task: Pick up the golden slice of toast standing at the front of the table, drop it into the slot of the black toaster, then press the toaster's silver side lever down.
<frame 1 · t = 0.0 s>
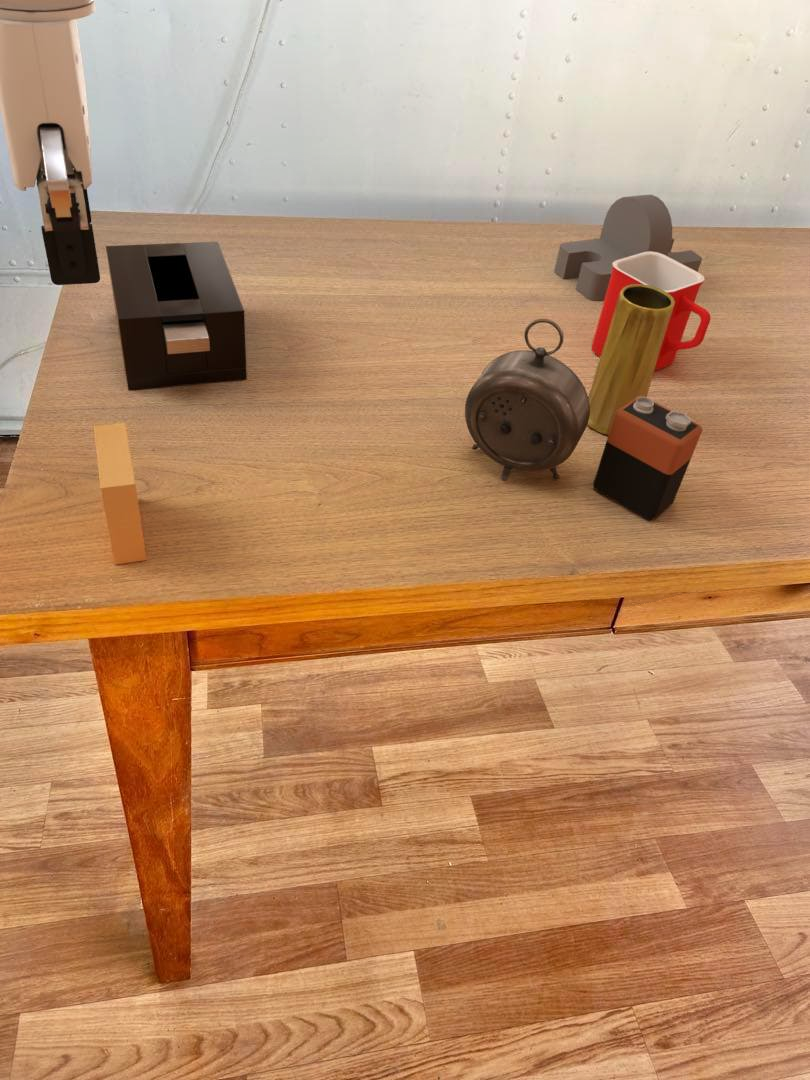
hand: (73, 251, 63), 21 cm above the table, tool pointing down, fingers open, 9 cm apart
vase: (608, 421, 91), on the table
bracket: (623, 278, 118), on the table
battery: (631, 498, 82), on the table
mug: (643, 364, 101), on the table
toaster: (178, 345, 94), on the table
toast: (126, 530, 72), on the table
alarm clock: (511, 472, 83), on the table
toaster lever: (186, 337, 83), point 6 cm above the table, slide at 0.0 cm
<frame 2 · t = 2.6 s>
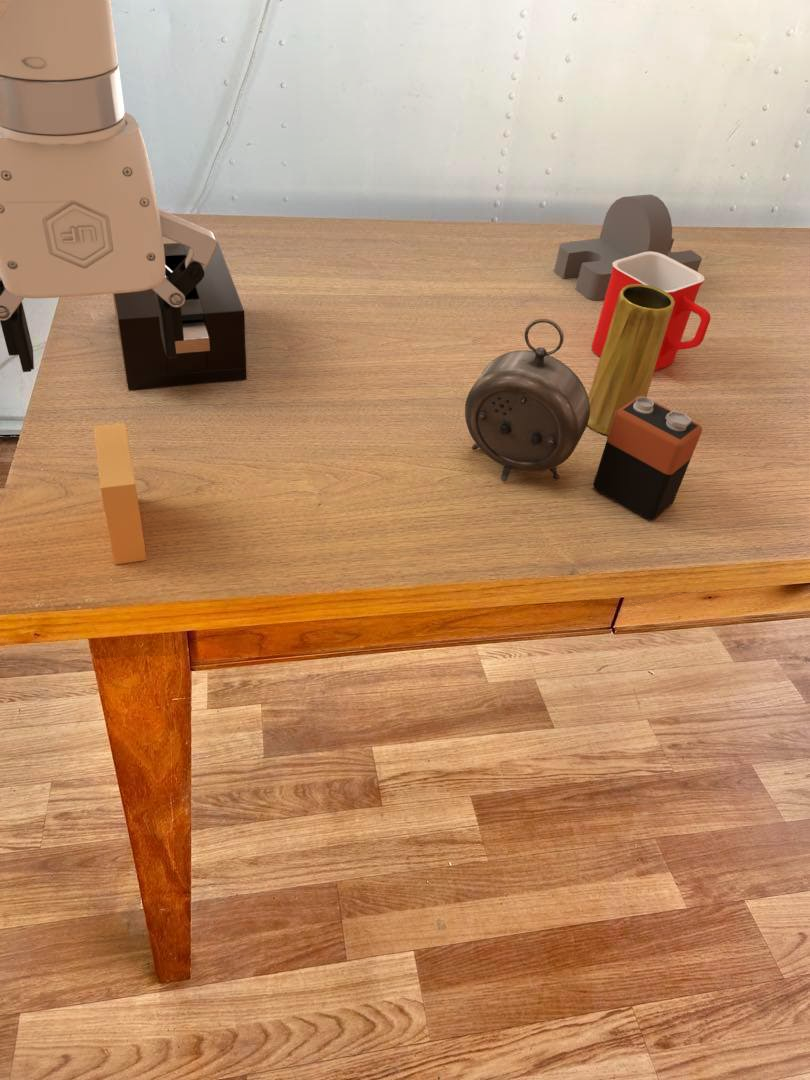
hand: (100, 355, 61), 16 cm above the table, tool pointing down, fingers open, 9 cm apart
nothing on the table moved.
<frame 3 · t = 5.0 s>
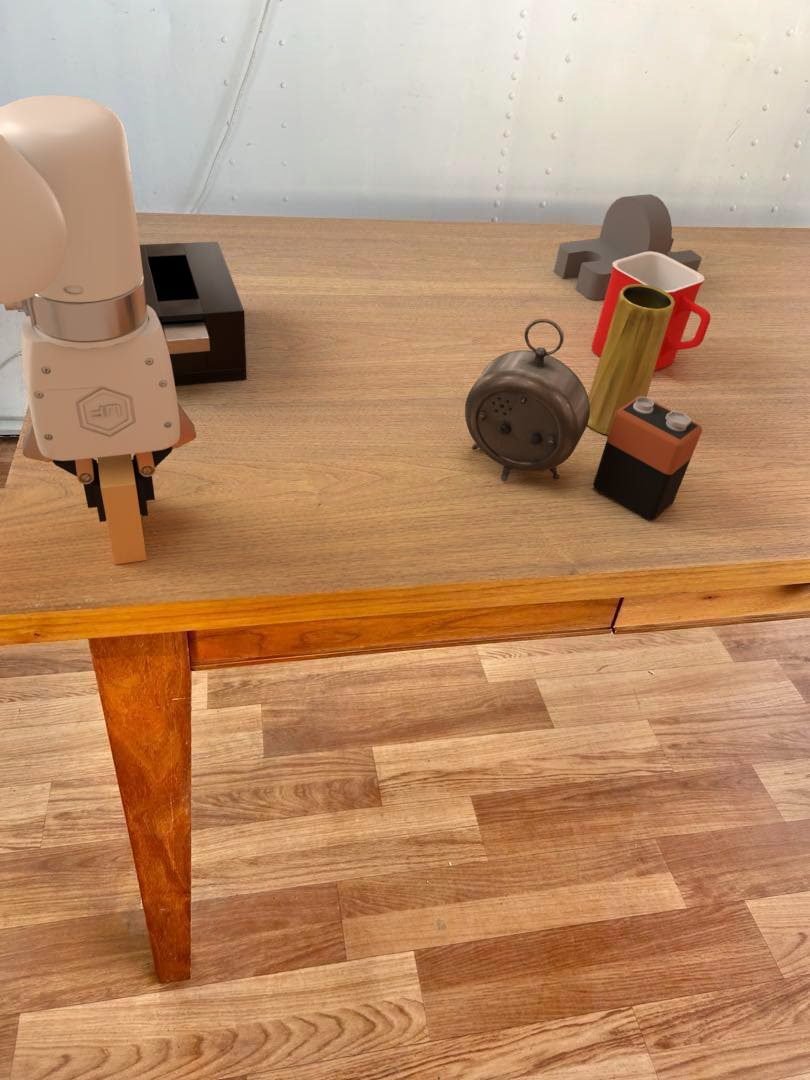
hand: (122, 506, 70), 3 cm above the table, tool pointing down, fingers closed on toast, 2 cm apart
toast: (126, 529, 72), on the table, touching gripper
everything else where it was.
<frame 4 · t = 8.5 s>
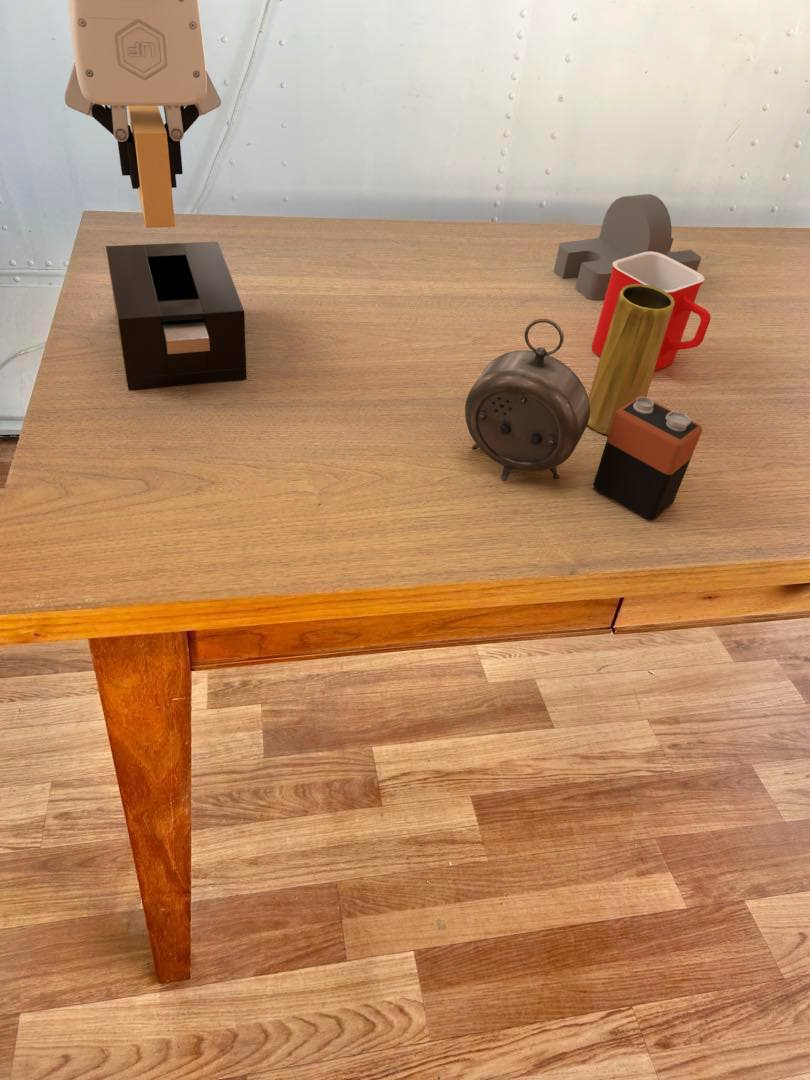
hand: (153, 180, 77), 20 cm above the table, tool pointing down, fingers closed on toast, 2 cm apart
toast: (155, 209, 79), point 17 cm above the table, touching gripper
everything else where it was.
when the fingers open (8 cm above the table, at t = 12.0 s): toast drops 4 cm, resting on toaster.
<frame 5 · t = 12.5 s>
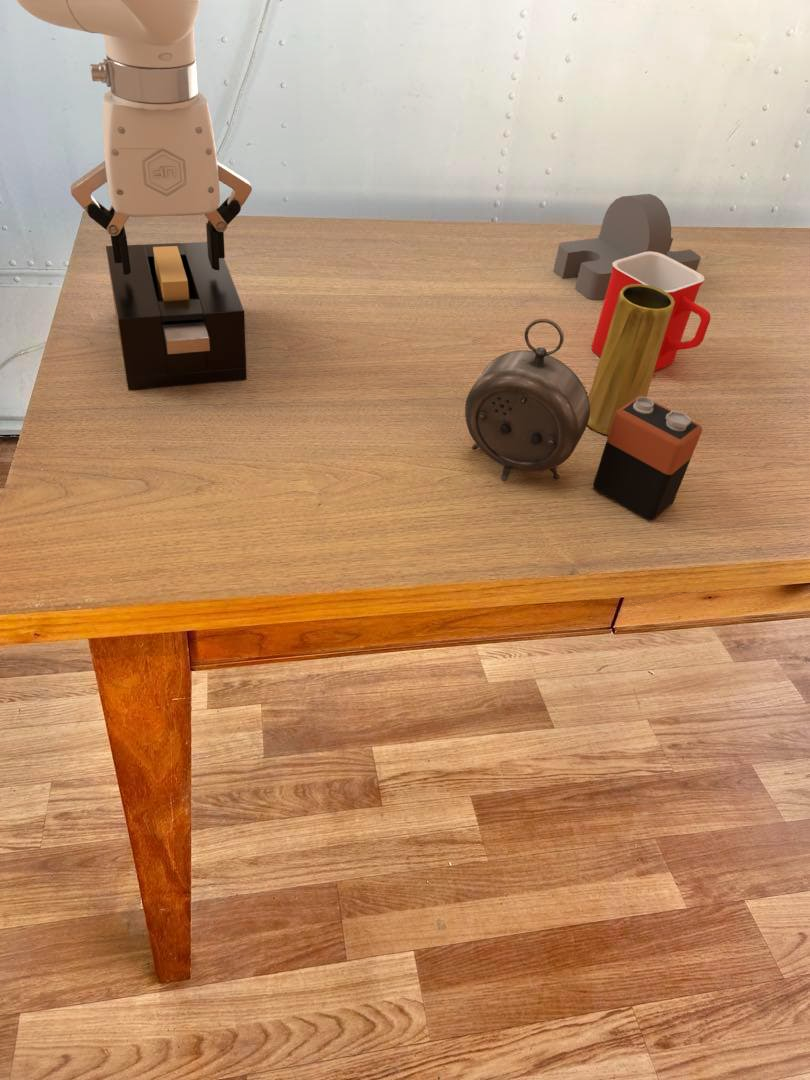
hand: (170, 265, 88), 9 cm above the table, tool pointing down, fingers open, 8 cm apart
toast: (176, 333, 93), point 1 cm above the table, touching toaster
everything else where it was.
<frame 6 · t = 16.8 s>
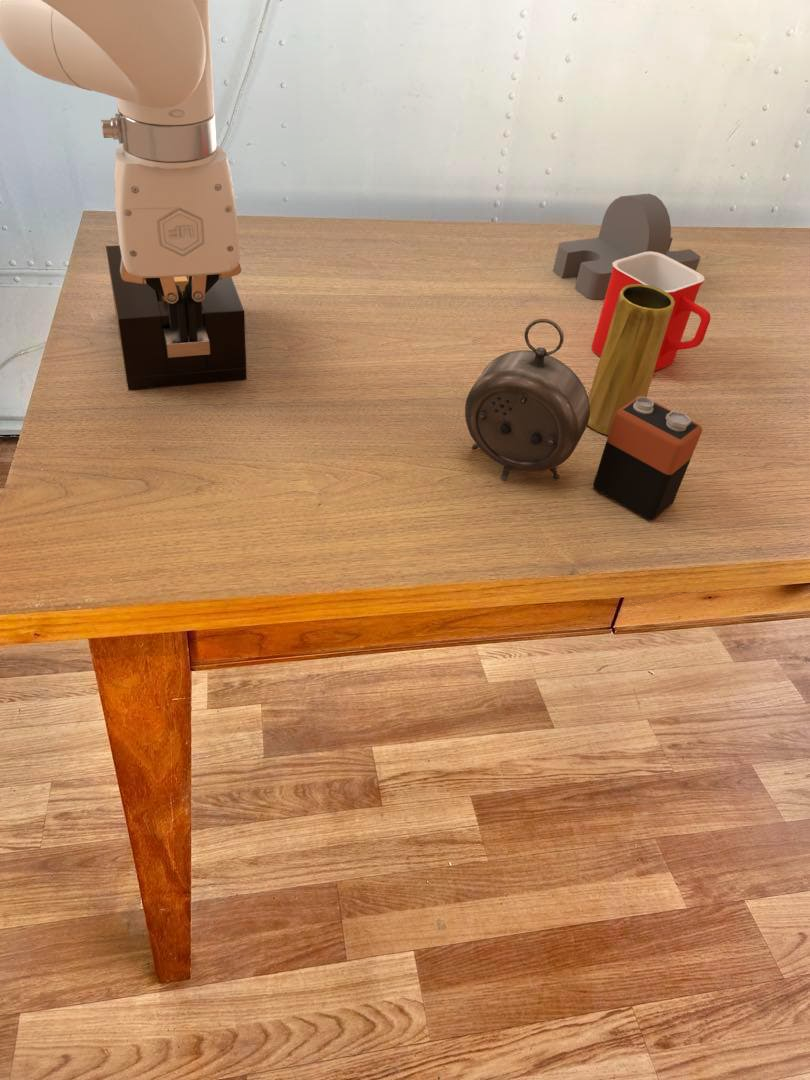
hand: (187, 333, 83), 7 cm above the table, tool pointing down, fingers closed
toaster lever: (186, 341, 83), point 6 cm above the table, slide at -0.4 cm, touching gripper
everything else where it was.
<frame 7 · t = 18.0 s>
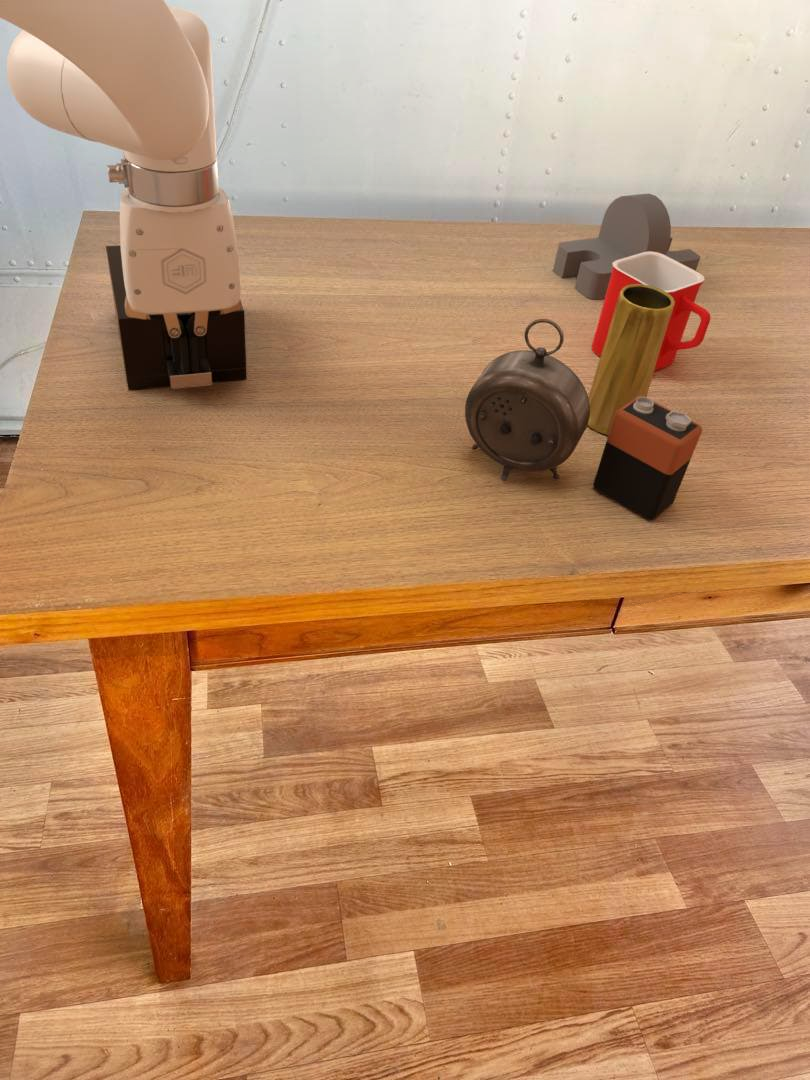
hand: (189, 365, 85), 3 cm above the table, tool pointing down, fingers closed
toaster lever: (189, 372, 86), point 3 cm above the table, slide at -3.9 cm, touching gripper
everything else where it was.
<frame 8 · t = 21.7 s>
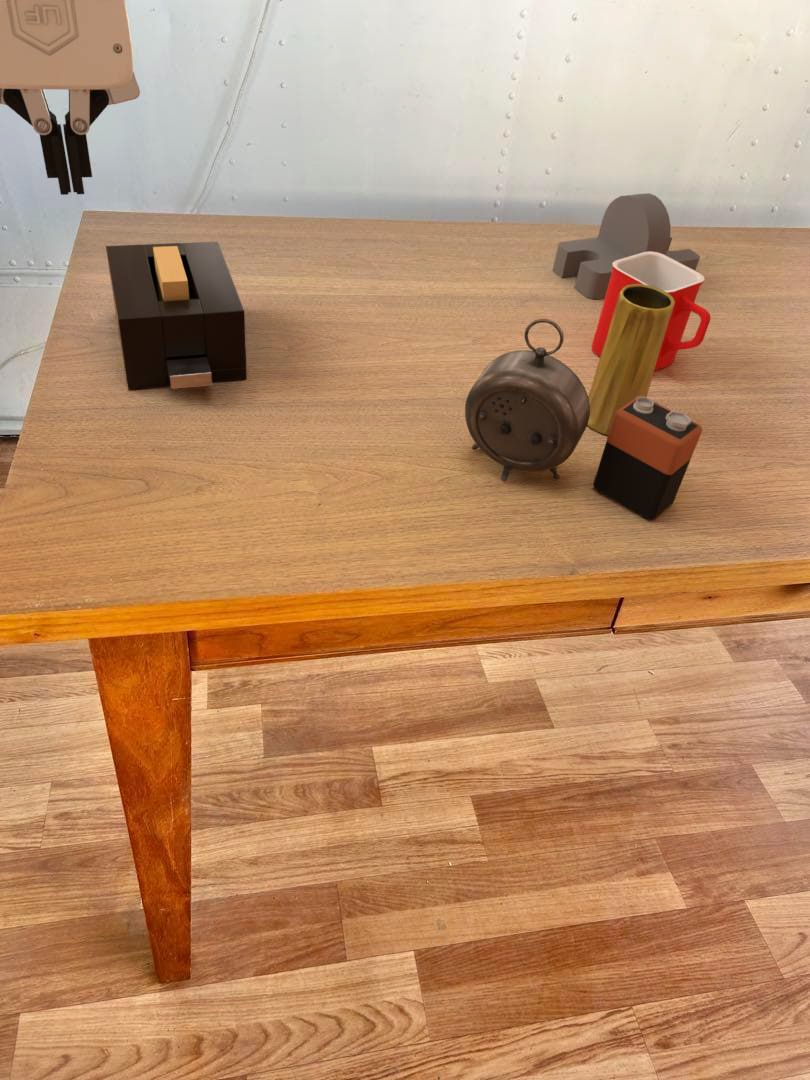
hand: (71, 186, 61), 25 cm above the table, tool pointing down, fingers closed
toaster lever: (189, 372, 86), point 3 cm above the table, slide at -3.9 cm
everything else where it was.
at the end: toast 0.1 cm off-centre on the toaster, point 1.5 cm above the toaster's base; toast tilted 0°; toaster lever slide at -3.9 cm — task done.
